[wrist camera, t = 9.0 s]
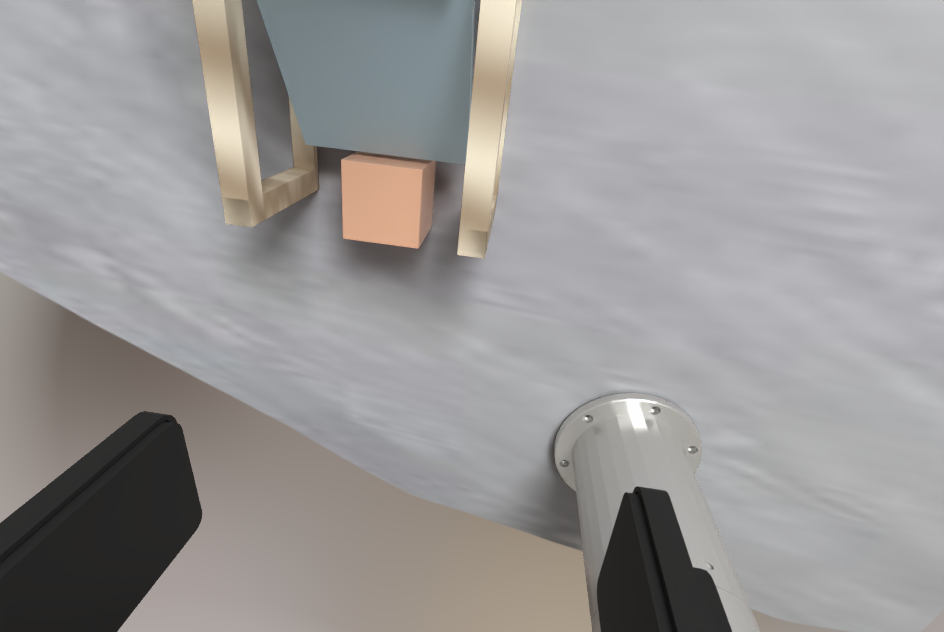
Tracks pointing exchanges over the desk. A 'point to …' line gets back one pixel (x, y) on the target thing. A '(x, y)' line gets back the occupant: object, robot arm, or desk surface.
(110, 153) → the desk surface
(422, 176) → the terracotta block
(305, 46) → the trapdoor plate
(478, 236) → the frame
